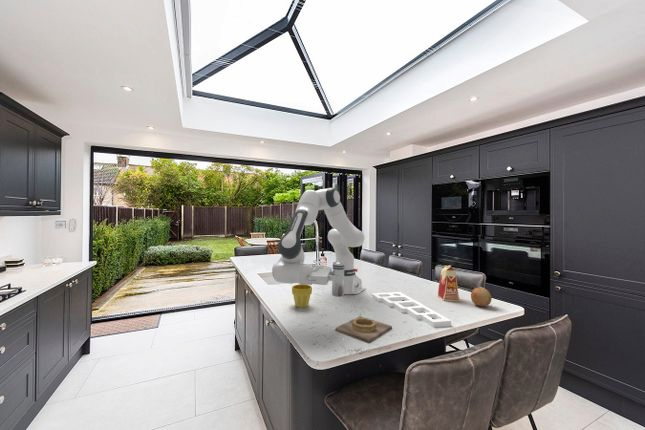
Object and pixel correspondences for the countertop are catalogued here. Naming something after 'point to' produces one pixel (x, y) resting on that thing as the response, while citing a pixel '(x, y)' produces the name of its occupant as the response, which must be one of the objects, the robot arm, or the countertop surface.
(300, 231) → the robot arm
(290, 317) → the countertop surface
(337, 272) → the piston
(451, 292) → the milk carton
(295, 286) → the plant pot
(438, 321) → the holder
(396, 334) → the countertop surface
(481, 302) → the onion
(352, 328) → the ring stand
